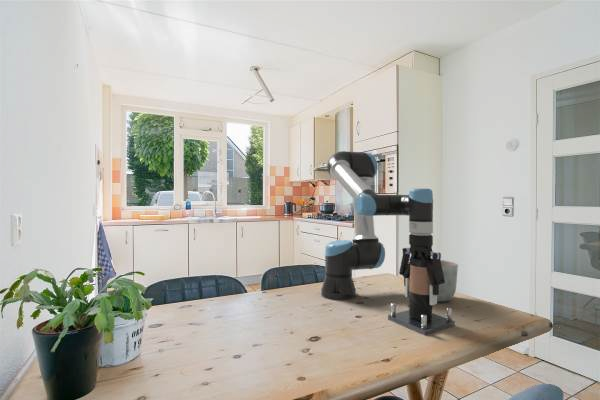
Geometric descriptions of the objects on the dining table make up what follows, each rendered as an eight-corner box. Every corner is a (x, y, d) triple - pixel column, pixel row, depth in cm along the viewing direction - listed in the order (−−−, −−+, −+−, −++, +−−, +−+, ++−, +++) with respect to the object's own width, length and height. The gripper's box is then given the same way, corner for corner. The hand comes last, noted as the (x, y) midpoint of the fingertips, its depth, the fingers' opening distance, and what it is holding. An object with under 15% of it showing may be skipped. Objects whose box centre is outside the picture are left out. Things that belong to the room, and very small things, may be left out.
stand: (388, 319, 111) (388, 303, 111) (417, 311, 119) (417, 297, 119) (424, 335, 98) (424, 317, 98) (454, 325, 106) (454, 308, 106)
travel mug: (434, 322, 104) (436, 261, 104) (410, 320, 105) (412, 259, 106) (429, 315, 111) (431, 257, 112) (407, 312, 113) (409, 255, 113)
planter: (460, 297, 137) (460, 261, 137) (455, 308, 123) (455, 268, 123) (418, 291, 146) (419, 257, 146) (409, 300, 132) (409, 263, 132)
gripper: (388, 231, 116) (388, 293, 116) (442, 237, 97) (442, 311, 97) (403, 230, 120) (402, 290, 120) (457, 236, 101) (457, 307, 101)
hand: (420, 300), depth 108 cm, fingers open, 9 cm apart
